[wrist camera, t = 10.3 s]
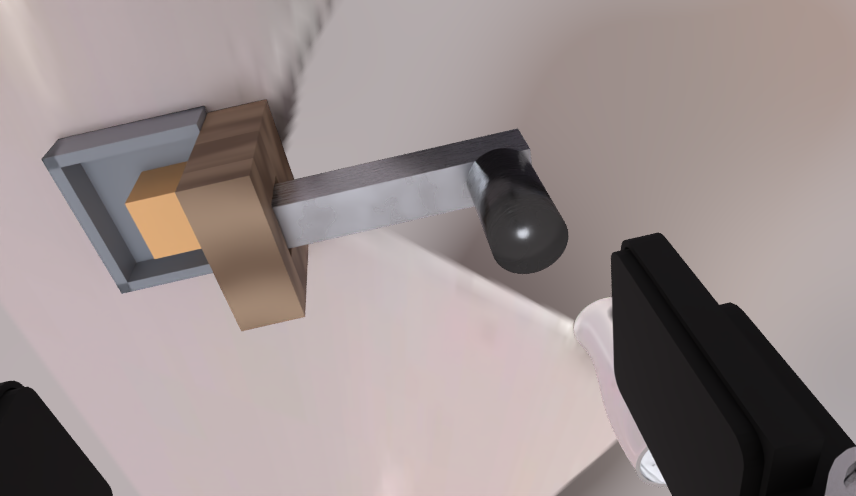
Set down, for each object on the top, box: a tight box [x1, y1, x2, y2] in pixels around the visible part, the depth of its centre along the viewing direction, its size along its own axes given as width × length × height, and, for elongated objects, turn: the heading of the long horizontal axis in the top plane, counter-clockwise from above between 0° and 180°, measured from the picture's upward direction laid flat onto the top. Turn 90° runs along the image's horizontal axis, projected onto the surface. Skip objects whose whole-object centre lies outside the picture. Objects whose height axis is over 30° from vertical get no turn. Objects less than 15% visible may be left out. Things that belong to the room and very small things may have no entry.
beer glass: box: [574, 297, 668, 487], centre depth 52 cm, size 7×7×15 cm
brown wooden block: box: [175, 100, 308, 331], centre depth 41 cm, size 10×4×11 cm, turn 11°
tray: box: [41, 106, 213, 294], centre depth 44 cm, size 11×10×3 cm
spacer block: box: [125, 161, 201, 259], centre depth 43 cm, size 4×4×4 cm
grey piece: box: [271, 129, 568, 274], centre depth 37 cm, size 4×19×10 cm, turn 101°
